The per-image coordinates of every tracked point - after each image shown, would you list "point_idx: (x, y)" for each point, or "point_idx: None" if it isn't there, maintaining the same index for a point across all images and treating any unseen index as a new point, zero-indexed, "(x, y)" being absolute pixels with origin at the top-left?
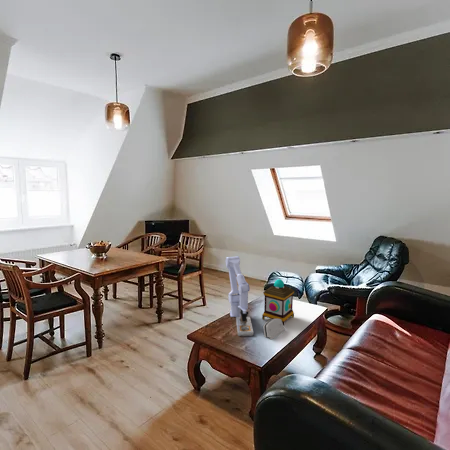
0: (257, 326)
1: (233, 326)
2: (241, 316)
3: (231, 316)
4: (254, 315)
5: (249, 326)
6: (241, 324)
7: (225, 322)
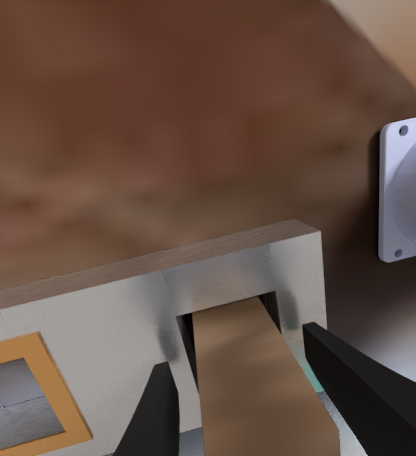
0: (184, 435)
1: (115, 216)
2: (200, 396)
3: (381, 141)
4: (399, 371)
5: (66, 442)
6: (91, 347)
7: (206, 76)
